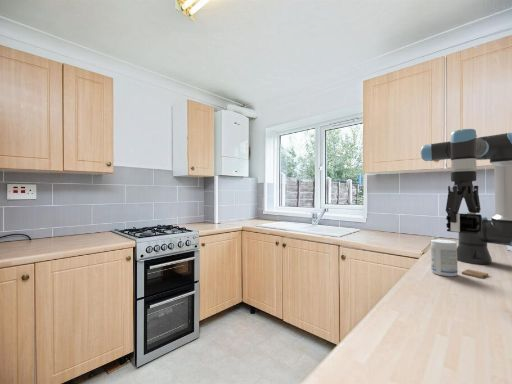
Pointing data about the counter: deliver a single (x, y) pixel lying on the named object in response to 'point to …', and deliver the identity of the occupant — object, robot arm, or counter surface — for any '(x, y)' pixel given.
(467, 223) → the end cap
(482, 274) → the oak coaster
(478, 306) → the counter surface
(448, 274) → the supplement tub
